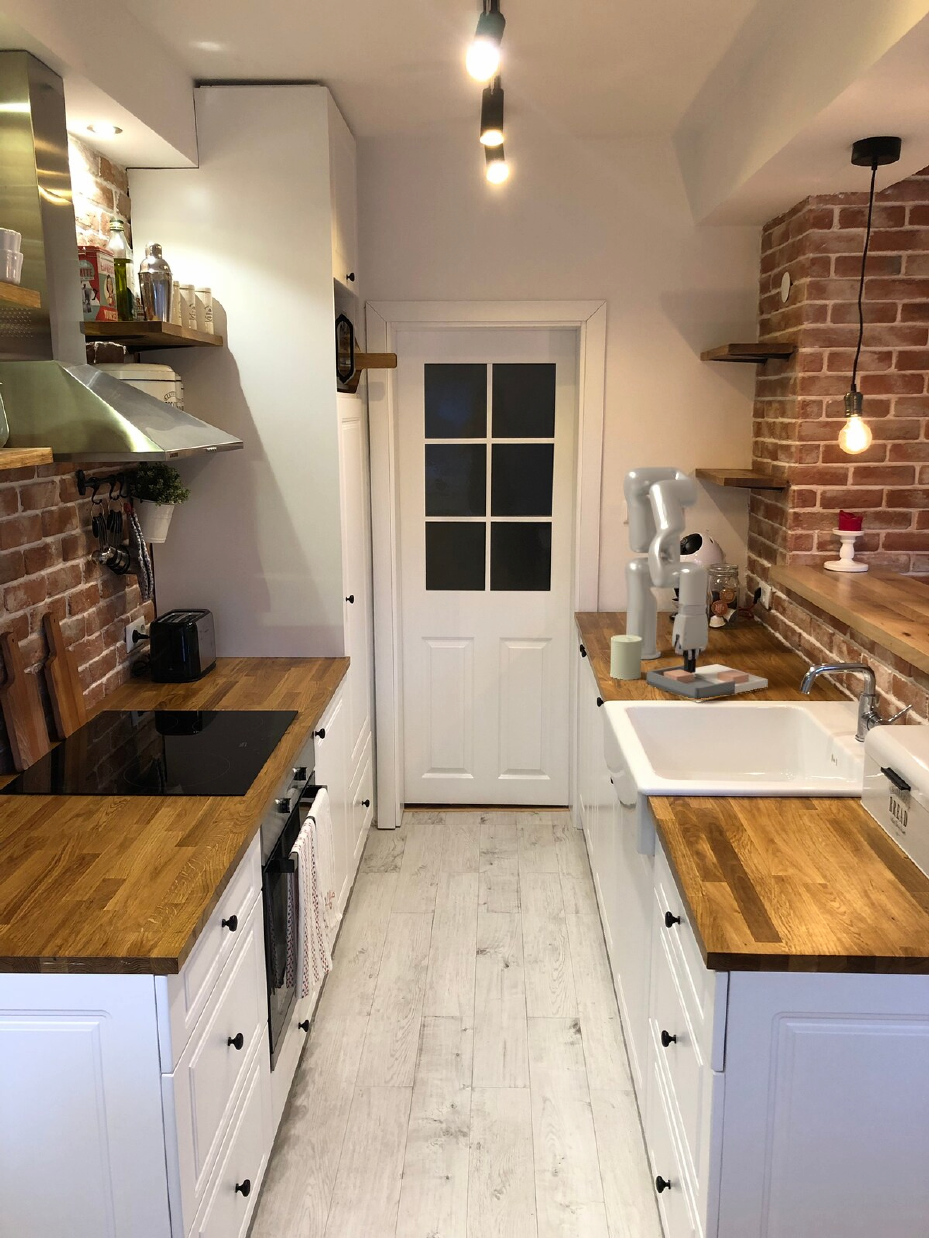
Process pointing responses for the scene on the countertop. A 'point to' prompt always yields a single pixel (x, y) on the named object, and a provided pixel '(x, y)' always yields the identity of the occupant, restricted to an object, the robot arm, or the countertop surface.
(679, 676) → the tile
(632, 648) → the can
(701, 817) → the countertop surface
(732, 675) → the tile
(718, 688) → the tray
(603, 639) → the countertop surface
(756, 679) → the plate
